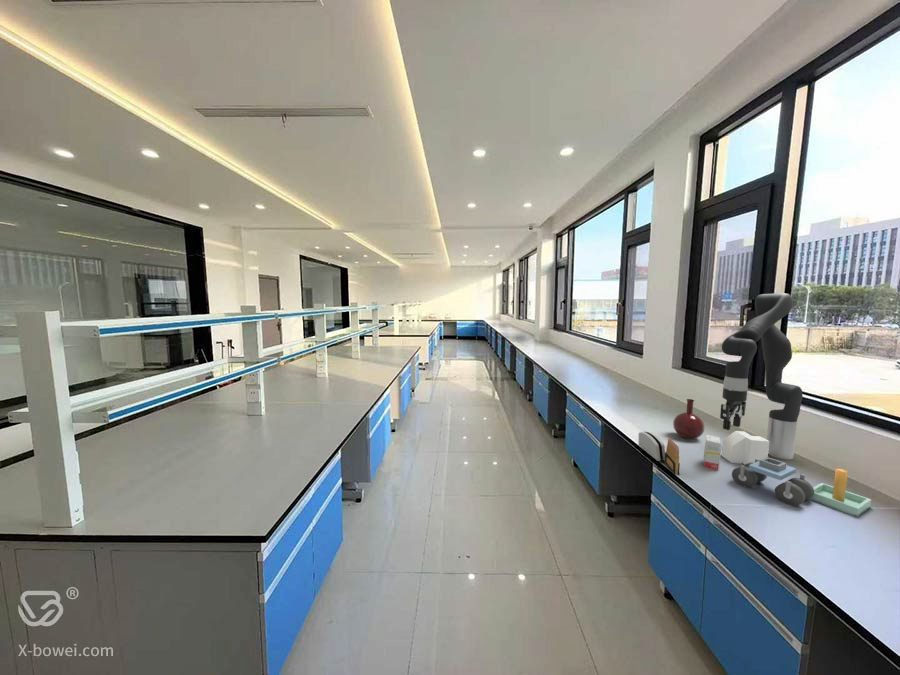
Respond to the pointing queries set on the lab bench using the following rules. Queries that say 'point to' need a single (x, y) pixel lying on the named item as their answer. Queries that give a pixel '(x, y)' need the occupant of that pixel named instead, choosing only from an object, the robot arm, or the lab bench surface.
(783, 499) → the trolley
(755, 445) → the white faceted lump
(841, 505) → the tray
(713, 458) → the ink box
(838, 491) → the pin
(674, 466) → the ammunition clip
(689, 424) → the round-bottom flask
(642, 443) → the white rounded slab
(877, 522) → the lab bench surface
